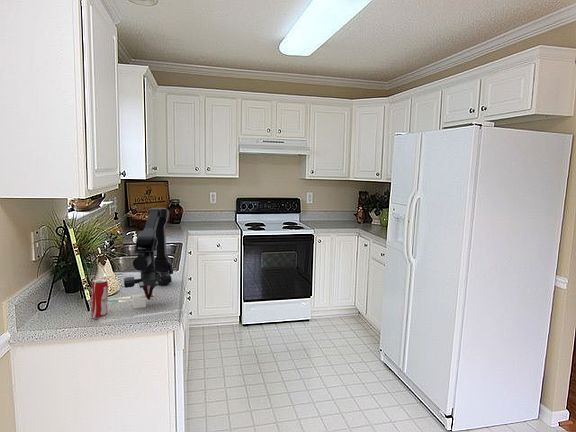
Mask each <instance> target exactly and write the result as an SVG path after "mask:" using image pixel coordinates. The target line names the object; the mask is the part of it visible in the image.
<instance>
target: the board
mask: <svg viewBox="0 0 576 432" xmlns="http://www.w3.org/2000/svg"><path fill="white" fill-rule="evenodd" d="M155 298H156V297H155V294H154V293H153V296H152V297H150V299H155ZM146 300H148V299H147V298H146ZM127 302H133V299H132V295H130V296H122V297H115V298H114V297H113V298H107V305H110V304H117V303H127Z"/></svg>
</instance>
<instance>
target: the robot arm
mask: <svg viewBox="0 0 576 432" xmlns="http://www.w3.org/2000/svg"><path fill="white" fill-rule="evenodd" d="M169 218H170V210H169V209H167V207H152V208H149V209H148V217H147V219H146V223H145V226H144V229H143V230H142V231H140V232H139V234H138V236H137V237H136V239H135V246H134V253H135V254H137V256H136V257H135V258H134V259H133V261H132V265H133V268H134V269H135V270H137V271H139V272H140V278H135V277H134V276H127V277H124V279H123V285H124V288H133V287H135V286H136V284H137V285H138V286H139V288H141V289H143V292H144V291H145V294H146V296H147V299H146V300H147V301H150V299H151V298H150V297H151V294H152V291H153V290H154V289H155V287H157V286H160V287H168V286H169V285H170V283H172V281H173V280H172V279H173V278H172V276H171V275H173V274H174V267H173V265H172V262H171V258H170V257H169V255H168V254H167V241H166V239H167V238H166V224H167V222H169ZM155 252H156V256H155ZM147 286H149V291H148V290H147Z"/></svg>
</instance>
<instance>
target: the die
mask: <svg viewBox="0 0 576 432" xmlns="http://www.w3.org/2000/svg"><path fill="white" fill-rule="evenodd" d="M131 296H132V299H133V301H132V308H133V309H141V308H147V299H146V296H145V294H144V293H142V294H132V295H131Z"/></svg>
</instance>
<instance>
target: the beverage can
mask: <svg viewBox="0 0 576 432" xmlns="http://www.w3.org/2000/svg"><path fill="white" fill-rule="evenodd" d="M108 285H109V283H108V280H107V279H106V278H96V279H93V280H92V283H91V294H90V295H91V298H90V299H91V302H90V306H91V307H90V317H91V319H95V320H99V318H101V317H104V316H106V315H108V304H107V299H108V295H109V294H108V292H109V291H108V290H109V286H108Z"/></svg>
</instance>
